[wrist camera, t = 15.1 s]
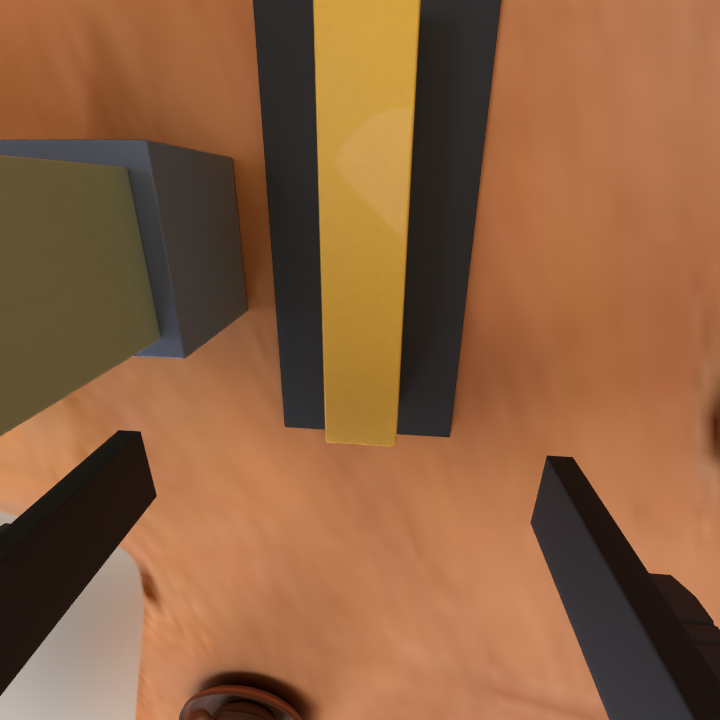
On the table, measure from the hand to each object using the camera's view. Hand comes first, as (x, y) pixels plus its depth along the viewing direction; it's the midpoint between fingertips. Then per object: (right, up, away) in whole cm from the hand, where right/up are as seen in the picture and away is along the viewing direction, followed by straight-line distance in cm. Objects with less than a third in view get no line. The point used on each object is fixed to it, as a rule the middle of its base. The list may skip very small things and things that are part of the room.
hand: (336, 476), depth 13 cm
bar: (+1, +9, +7) cm, 12 cm away
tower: (-9, +10, +8) cm, 16 cm away
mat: (+1, +10, +7) cm, 12 cm away
